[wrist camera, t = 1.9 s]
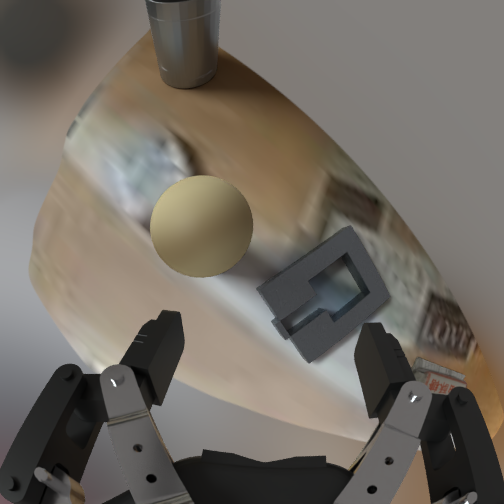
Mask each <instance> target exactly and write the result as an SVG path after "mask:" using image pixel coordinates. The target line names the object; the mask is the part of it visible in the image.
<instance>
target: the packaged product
mask: <svg viewBox="0 0 504 504" xmlns="http://www.w3.org/2000/svg"><path fill="white" fill-rule="evenodd" d="M411 370H412V372H413V374H414V376H415V379H416V381H419V382H422V383H424V384H425V385H426V386H428V388H429V389H430V391H431V393H435V394H444V395H448V394H449V392H450V391H451V390H452V389H453V388H455V387H458V386H461V387H465V388H467V383H466V382H465V381H463V379H464V377H465V375H463V374H460V373H458V372H455V371H452V370H450V369H447V368H444V367H442V366H439V365H437V364H434V363H432V362H429V361H426V360H424V359H421V358H419V357H417V358H416V360H415V362H414V365H413V367H412V369H411Z"/></svg>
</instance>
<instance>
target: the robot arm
mask: <svg viewBox="0 0 504 504" xmlns="http://www.w3.org/2000/svg"><path fill="white" fill-rule="evenodd" d="M145 2H146V7H147V12H148V17H149V22H150V27H151V32H152V37H153V42H154V47H155V51H156V56H157V61H158V65H159V70H160V74H161V78H162V79H163V81H164V82H165V83H166V84H168V85H170V86H172V87H176V88H193V87H197V86H200V85H202V84H204V83H206V82H208V81H209V80H210V79H211V78H212V77H213V76H214V75H215V73H216V71H217V58H218V40H219V23H220V8H221V0H145ZM184 343H185V339H184V332H183V326H182V319H181V314H180V312H177V311H168V310H162V311H161V313H160V315H159V316H158V318H157V320H152V319H151V320H150V321H148V322H147V323H146V324H144V325H143V326H142V328H141V329H140V331H139V332H138V335H136V337H135V339H134V342H132V343H131V345H130V347H129V348H128V350H127V352H126V353H125V355H124V356H123V358H122V360H121V361H120V363H119V364H117V365H112V366H110V367H108V368H106V369H105V370H104V371H103V372H102V374H83V373H82V371H81V369H80V367H79V366H77V365H75V364H65V365H62V366H61V367H59V368H58V369H57V370H56V371H55V372H54V374H53V375H52V377H51V379H50V380H49V382H48V383H47V385H46V386H45V388H44V389H43V391H42V393H41V394H40V396H39V397H38V399H37V401H36V403H35V404H34V406H33V407H32V409H31V411H30V413H29V414H28V416H27V418H26V420H25V421H24V423H23V425H22V427H21V428H20V431H19V432H18V434H17V436H16V438H15V440H14V442H13V444H12V446H11V448H10V450H9V452H8V454H7V456H6V458H5V460H4V462H3V464H2V466H1V469H0V493H1V495H2V496H3V497H4V498H5V499H7V500H8V501H10V502H12V503H14V504H84V503H85V493H84V490H83V488H82V486H81V485H80V481H81V478H82V475H83V473H84V470H85V467H86V464H87V462H88V459H89V457H90V454H91V452H92V449H93V447H94V444H95V441H96V439H97V437H98V434H99V432H100V429H101V427H102V425H103V422H107V427H108V431H109V434H110V437H111V441H112V444H113V447H114V450H115V453H116V456H117V459H118V462H119V464H120V467H121V470H122V472H123V475H124V478H125V480H126V483H127V485H128V487H129V490H127V491H126V492H124V493H122V494H120V495H118V496H116V497H114V498H112V499H110V500H108V501H106V502H104V503H102V504H390V503H391V501H392V499H393V497H394V496H395V494H396V492H397V490H398V489H399V487H400V485H401V483H402V481H403V479H404V477H405V475H406V473H407V471H408V469H409V467H410V465H411V463H412V461H413V458H414V456H415V454H416V452H417V449H418V447H419V445H421V450H422V454H423V459H424V464H425V469H426V475H427V480H428V487H429V493H430V500H431V504H504V480H503V476H502V473H501V469H500V465H499V462H498V458H497V455H496V452H495V449H494V446H493V443H492V440H491V437H490V434H489V431H488V429H487V426H486V423H485V421H484V418H483V416H482V413H481V411H480V409H479V406H478V404H477V402H476V399H475V397H474V395H473V393H472V392H471V391H470V390H469V389H467V388H465V387H461V386H458V387H455V388H453V389H452V390H451V391H450V392H449V394H448V395H444V394H435V393H431V391H430V389H429V388H428V386H426V385H425V384H424V383H422V382H419V381H416V379H415V376H414V374H413V372H412V370H411V367H410V365H409V363H408V361H407V358H406V357H405V354H404V352H403V351H402V348H401V346H400V344H399V342H398V340H397V339H396V338H395V337H394V336H393V335H392V334H391V333H386V332H385V329H384V327H383V325H382V324H381V323H380V322H379V323H364V324H363V326H362V329H361V332H360V335H359V338H358V342H357V345H356V348H355V352H354V360H355V364H356V368H357V372H358V375H359V379H360V383H361V387H362V391H363V395H364V399H365V403H366V407H367V412H368V416H369V418H377V417H378V419H379V423H378V425H377V426H376V428H375V430H374V431H373V433H372V435H371V437H370V438H369V440H368V441H367V443H366V445H365V446H364V448H363V450H362V451H361V452H360V454H359V456H358V457H357V458H356V460H355V461H354V462H353V464H352V465H351V466H350V467H349V469H348V470H347V469H345V468H343V467H341V466H338V465H335V464H331V463H326V456H305V457H293V458H288V459H283V460H277V461H272V462H260V461H256V460H253V459H249V458H246V457H243V456H240V455H237V454H233V453H226V452H218V451H210V450H204V449H203V453H202V456H195V457H189V458H185V459H182V460H179V461H176V462H174V461H173V459H172V457H171V455H170V453H169V451H168V449H167V448H166V446H165V444H164V442H163V439H162V437H161V435H160V433H159V431H158V429H157V426H156V424H155V422H154V420H153V417H152V415H151V413H150V409H151V407H152V404H154V405H159V406H161V405H162V403H163V400H164V398H165V395H166V393H167V390H168V387H169V385H170V382H171V380H172V377H173V375H174V372H175V370H176V367H177V365H178V362H179V360H180V357H181V355H182V353H183V350H184ZM450 434H452V437H453V440H454V444H455V447H456V451H455V449H454V445H453V442H452V438H451V435H450Z"/></svg>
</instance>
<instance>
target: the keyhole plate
mask: <svg viewBox="0 0 504 504" xmlns="http://www.w3.org/2000/svg"><path fill="white" fill-rule="evenodd" d="M340 257H342V259H343V261H344V263H345V264H346V266H347V268H348V269H349V271H350V273H351V274H352V276H353V278H354V280H355V281H356V283H357V285H358V287H359V288H360V290H361V293H359V294H358V295H357V296H356V297H355V298H353V299H352V300H351V301H350V302H349V303H347V304H346V305H345V306H344V307H342V308H341V309H340V310H339V311H337V312H336V313H335V314H334V315H332V316H331V317H330V316H329V314H328V312H327V311H326V310H324V309H321V308H318V309H317V310H316V311H314V312H313V313H312V314H310V315H309V316H308V317H306V318H305V319H304V320H302V321H301V322H299V323H298V324H297V325H295V326H294V327H292V328H291V329H290V330H288V331H286V329H285V328H284V326H283V325H282V323H281V322H280V321H281V320H282V319H284V318H285V317H287V316H288V315H289V314H291V313H292V312H294V311H295V310H296V309H298V308H299V307H301V306H302V305H303V304H305V303H306V302H307V301H309V300H310V299H311V298H313V297H314V296H316V295H317V294H316V293H315V291H314V290H313V288H312V286H311V285H310V283H309V282H308V281H309V280H310V279H311V278H313V277H314V276H315V275H317V274H318V273H319V272H321V271H322V270H324V269H325V268H326V267H328V266H329V265H330V264H332V263H333V262H334V261H336V260H337V259H338V258H340ZM256 289H257V291H258V292H259V294H260V295H261V297H262V298H263V300H264V301H265V303H266V304H267V306H268V307H269V309H270V310H271V312H272V313H273V315H274V316H275V319H273V320H272V321H271V322H272V324H273V325H274V327H275V328H276V330H277V331H278V332H279V334H280V335H281V336H282V337H283V338H284V339H285V340H286V339H288V338H290V340H291V341H292V343H293V344H294V346H295V347H296V349H297V350H298V352H299V353H300V355H301V356H302V357H303V359H304V360H305V361H307V362H308V363H311V362H312V361H313V360H315V359H316V358H317V357H319V356H320V355H321V354H323V353H324V352H325V351H327V350H328V349H329V348H331V347H332V346H333V345H334V344H336V343H337V342H338V341H339V340H341V339H342V338H343V337H344V336H346V335H347V334H348V333H349V332H351V331H352V330H353V329H354V328H355V327H357V326H358V325H359V324H360V323H361V322H362V321H364V320H365V319H366V318H367V317H368V316H369V315H371V314H372V313H373V312H374V311H375V310H376V309H377V308H378V307H379V306H381V305H382V304H383V303H384V302H385V301H386V300H387V299H388V298H389V297H390V295H389V293H388V291H387V289H386V287H385V285H384V283H383V281H382V279H381V277H380V275H379V274H378V272H377V270H376V268H375V266H374V264H373V263H372V261H371V259H370V257H369V255H368V254H367V252H366V250H365V248H364V247H363V245H362V243H361V242H360V240H359V238H358V236H357V235H356V233H355V231H354V230H353V228H352V226H351V225H350V226H347V227H344V228H342V229H341V230H339V231H338V232H337V233H335V234H334V235H332V236H331V237H330V238H328V239H327V240H325V241H324V242H323V243H321V244H320V245H318V246H317V247H316V248H314V249H313V250H311V251H310V252H309V253H307V254H306V255H304V256H303V257H301V258H300V259H299V260H297V261H296V262H294V263H293V264H291V265H290V266H288V267H287V268H286V269H284V270H283V271H281V272H280V273H278V274H277V275H275V276H274V277H272V278H271V279H270V280H268V281H267V282H265V283H264V284H262V285H261V286H259V287H258V288H256Z"/></svg>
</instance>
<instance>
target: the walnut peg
mask: <svg viewBox="0 0 504 504" xmlns="http://www.w3.org/2000/svg"><path fill="white" fill-rule="evenodd" d="M150 230H151V238H152V242H153V245H154V248H155V249H156V251H157V253H158V255H159V256H160V258H161V259H162V260H163V261H164V262H165V263H166V264H167V265H168V266H169V267H170V268H172V269H173V270H175V271H177V272H179V273H181V274H183V275H187V276H190V277H202V278H204V277H211V276H215V275H218V274H221V273H223V272H225V271H227V270H229V269H230V268H231V267H233V266H234V265H235V264H236V263H237V262H238V261H239V260H240V259H241V258H242V257H243V255H244V254H245V252H246V251H247V249H248V247H249V244H250V242H251V238H252V233H253V218H252V213H251V210H250V207H249V205H248V203H247V201H246V199H245V197H244V196H243V195H242V194H241V192H240V191H239V190H238V189H237V188H235V187H234V186H233V185H232V184H230V183H228V182H227V181H225V180H222V179H220V178H216V177H213V176H193V177H189V178H185V179H183V180H180V181H179V182H177V183H175V184H173V185H172V186H171V187H169V188H168V189H167V190H166V191H165V192H164V193H163V194H162V196H161V197H160V198H159V200H158V201H157V203H156V205H155V207H154V210H153V213H152V217H151V225H150Z"/></svg>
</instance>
